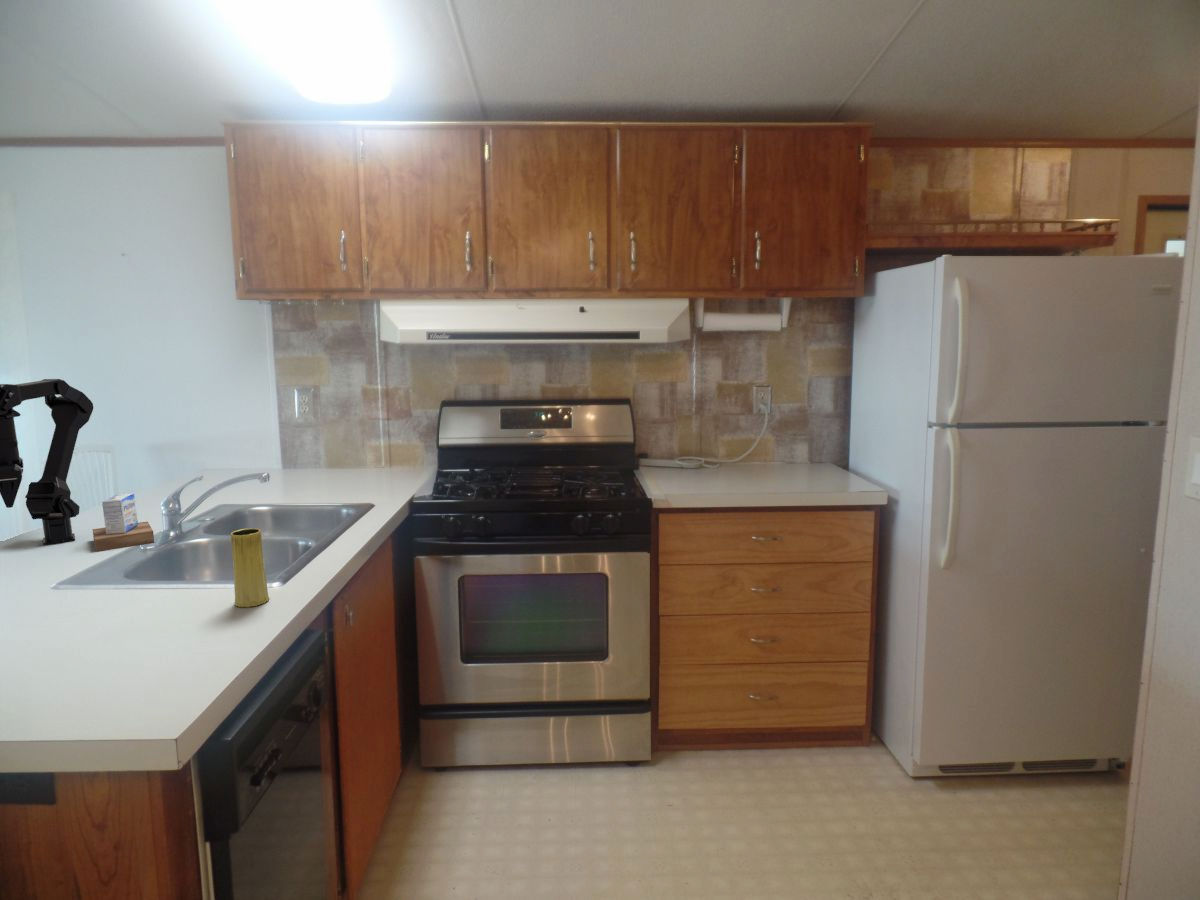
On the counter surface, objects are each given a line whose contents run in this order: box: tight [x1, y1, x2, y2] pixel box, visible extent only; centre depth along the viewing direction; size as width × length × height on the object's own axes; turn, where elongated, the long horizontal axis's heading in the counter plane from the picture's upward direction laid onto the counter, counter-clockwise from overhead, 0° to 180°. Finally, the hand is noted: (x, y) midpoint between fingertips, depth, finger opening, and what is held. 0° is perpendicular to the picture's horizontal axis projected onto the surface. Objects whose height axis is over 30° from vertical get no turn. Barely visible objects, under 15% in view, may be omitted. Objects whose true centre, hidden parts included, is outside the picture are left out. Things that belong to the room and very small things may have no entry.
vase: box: [230, 527, 270, 608], centre depth 137 cm, size 6×6×14 cm
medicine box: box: [101, 493, 139, 534], centre depth 178 cm, size 8×4×9 cm, turn 13°
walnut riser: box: [92, 521, 155, 553], centre depth 179 cm, size 12×12×3 cm
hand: (10, 503), depth 165 cm, fingers open, 9 cm apart
